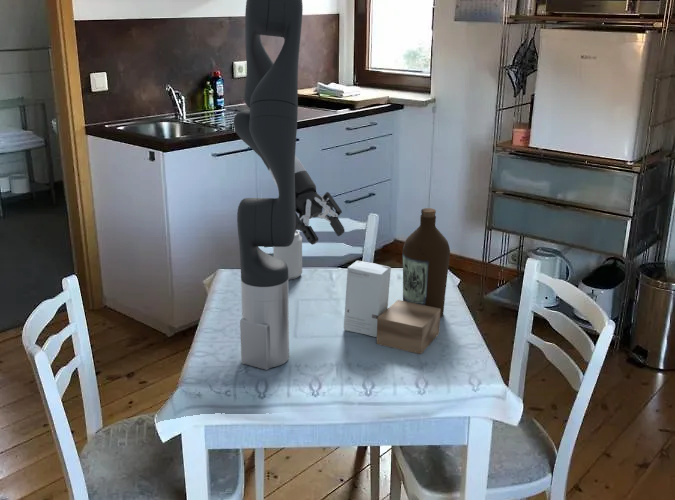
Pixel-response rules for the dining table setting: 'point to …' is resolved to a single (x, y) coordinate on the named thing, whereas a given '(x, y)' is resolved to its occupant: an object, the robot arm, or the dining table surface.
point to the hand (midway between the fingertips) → (328, 238)
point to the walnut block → (408, 326)
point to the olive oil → (426, 264)
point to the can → (291, 256)
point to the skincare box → (366, 296)
